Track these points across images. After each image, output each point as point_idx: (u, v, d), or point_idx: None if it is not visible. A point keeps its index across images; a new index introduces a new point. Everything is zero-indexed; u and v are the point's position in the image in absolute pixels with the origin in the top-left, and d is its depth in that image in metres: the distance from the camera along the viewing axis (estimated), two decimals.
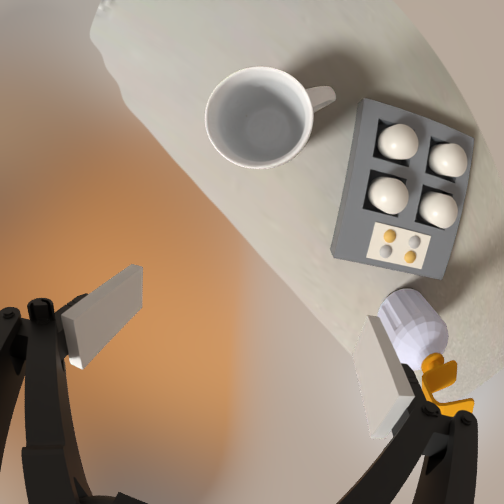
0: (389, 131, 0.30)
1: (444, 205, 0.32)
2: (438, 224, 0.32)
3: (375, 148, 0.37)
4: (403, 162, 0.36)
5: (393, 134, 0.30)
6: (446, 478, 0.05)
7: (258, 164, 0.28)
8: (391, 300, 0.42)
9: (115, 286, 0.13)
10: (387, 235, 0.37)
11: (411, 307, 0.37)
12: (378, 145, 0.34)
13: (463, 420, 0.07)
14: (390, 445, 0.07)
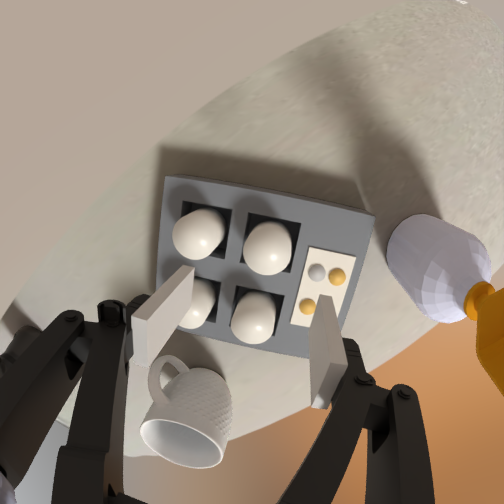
0: (179, 324, 0.31)
1: (258, 253, 0.27)
2: (285, 261, 0.27)
3: None
4: None
5: (181, 320, 0.30)
6: (396, 457, 0.06)
7: (219, 452, 0.29)
8: (397, 280, 0.31)
9: (175, 286, 0.15)
10: (306, 310, 0.31)
11: (404, 279, 0.27)
12: None
13: (401, 395, 0.09)
14: (329, 419, 0.08)
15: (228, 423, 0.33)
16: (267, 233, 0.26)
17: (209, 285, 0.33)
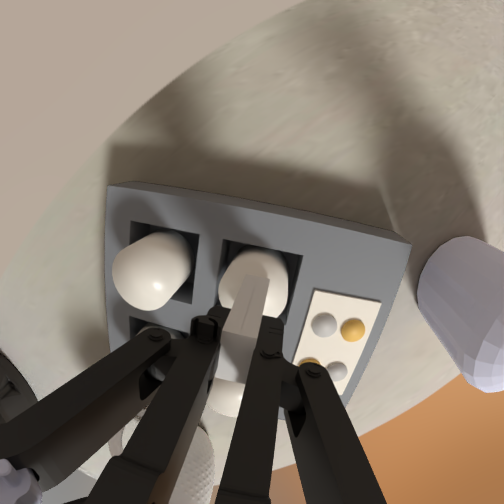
0: None
1: None
2: (279, 307, 0.19)
3: None
4: None
5: None
6: (320, 441, 0.07)
7: None
8: (429, 325, 0.21)
9: (250, 297, 0.15)
10: None
11: (446, 333, 0.17)
12: None
13: (310, 374, 0.10)
14: (243, 398, 0.09)
15: (208, 489, 0.23)
16: (252, 268, 0.18)
17: (174, 336, 0.23)
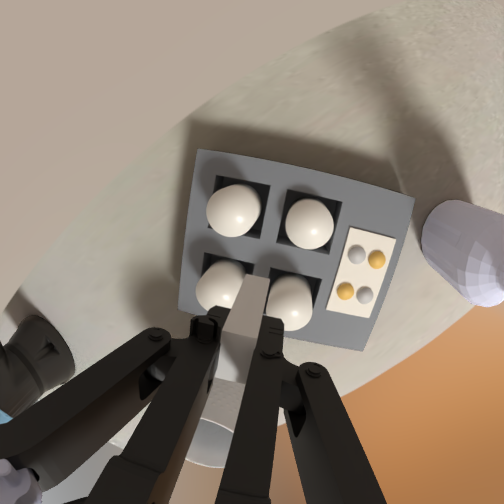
0: (207, 309, 0.29)
1: (300, 226, 0.27)
2: (327, 235, 0.26)
3: None
4: None
5: (210, 305, 0.29)
6: (320, 441, 0.07)
7: None
8: (432, 266, 0.29)
9: (250, 297, 0.15)
10: (344, 295, 0.29)
11: (444, 262, 0.24)
12: None
13: (310, 374, 0.10)
14: (243, 398, 0.09)
15: None
16: (310, 206, 0.26)
17: (241, 268, 0.31)
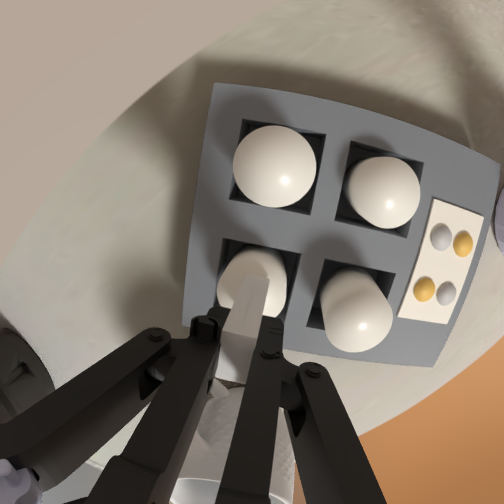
0: None
1: (376, 194, 0.16)
2: (412, 208, 0.16)
3: None
4: None
5: None
6: (320, 441, 0.07)
7: None
8: None
9: (250, 297, 0.15)
10: (422, 295, 0.19)
11: None
12: None
13: (310, 374, 0.10)
14: (243, 398, 0.09)
15: (293, 466, 0.20)
16: (390, 163, 0.16)
17: (279, 256, 0.21)
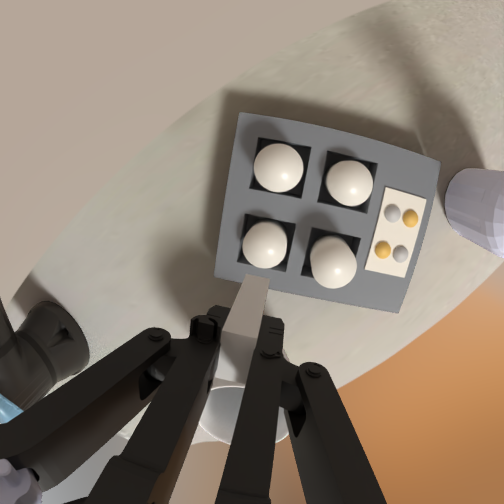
0: (253, 263, 0.30)
1: (342, 184, 0.27)
2: (367, 192, 0.27)
3: None
4: None
5: (257, 259, 0.30)
6: (320, 441, 0.07)
7: None
8: (456, 228, 0.29)
9: (250, 297, 0.15)
10: (381, 254, 0.29)
11: (470, 220, 0.25)
12: None
13: (310, 373, 0.10)
14: (243, 398, 0.09)
15: None
16: (351, 164, 0.26)
17: (282, 226, 0.32)
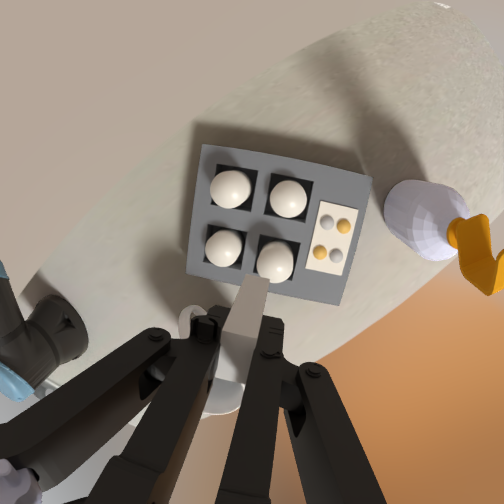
0: (214, 263, 0.39)
1: (281, 200, 0.35)
2: (302, 206, 0.35)
3: None
4: None
5: (216, 259, 0.38)
6: (320, 441, 0.07)
7: (243, 391, 0.36)
8: (393, 233, 0.37)
9: (250, 297, 0.15)
10: (319, 255, 0.38)
11: (399, 226, 0.33)
12: None
13: (310, 374, 0.10)
14: (243, 398, 0.09)
15: None
16: (288, 184, 0.34)
17: (238, 233, 0.41)
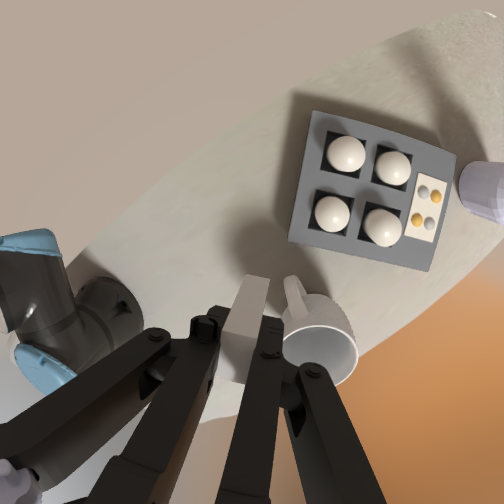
0: (324, 228, 0.37)
1: (390, 168, 0.34)
2: (407, 175, 0.34)
3: None
4: None
5: (326, 224, 0.37)
6: (320, 441, 0.07)
7: (354, 359, 0.34)
8: (468, 206, 0.36)
9: (250, 297, 0.15)
10: (416, 223, 0.36)
11: (479, 198, 0.32)
12: None
13: (310, 374, 0.10)
14: (243, 398, 0.09)
15: None
16: (396, 154, 0.33)
17: None
